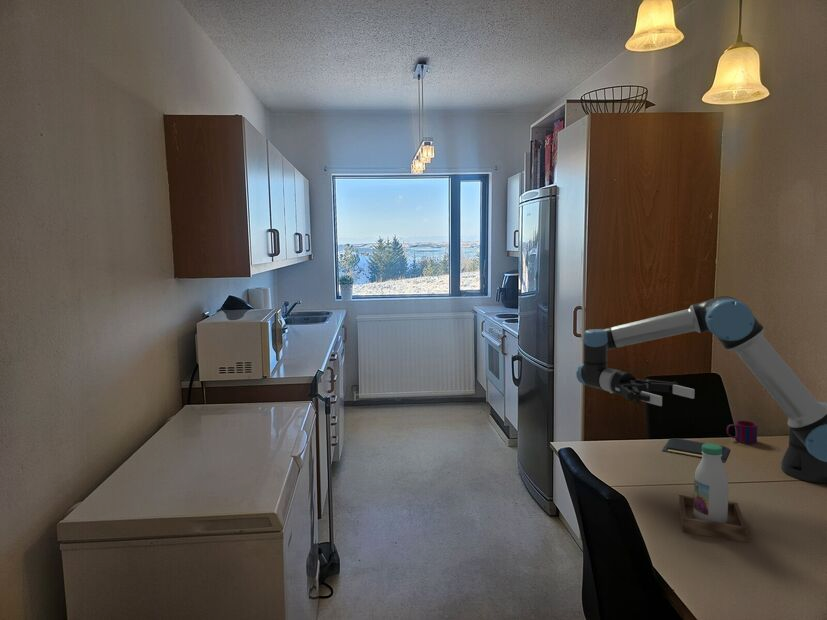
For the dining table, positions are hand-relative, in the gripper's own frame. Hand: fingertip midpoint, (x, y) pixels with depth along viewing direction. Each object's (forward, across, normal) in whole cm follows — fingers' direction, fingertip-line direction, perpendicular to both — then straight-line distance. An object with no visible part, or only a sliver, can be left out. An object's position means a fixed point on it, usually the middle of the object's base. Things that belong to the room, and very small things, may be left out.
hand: (677, 397), depth 146 cm
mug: (-18, -60, -30) cm, 69 cm away
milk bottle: (+13, +4, -29) cm, 32 cm away
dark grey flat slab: (-21, -38, -31) cm, 53 cm away
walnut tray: (+13, +4, -30) cm, 33 cm away
